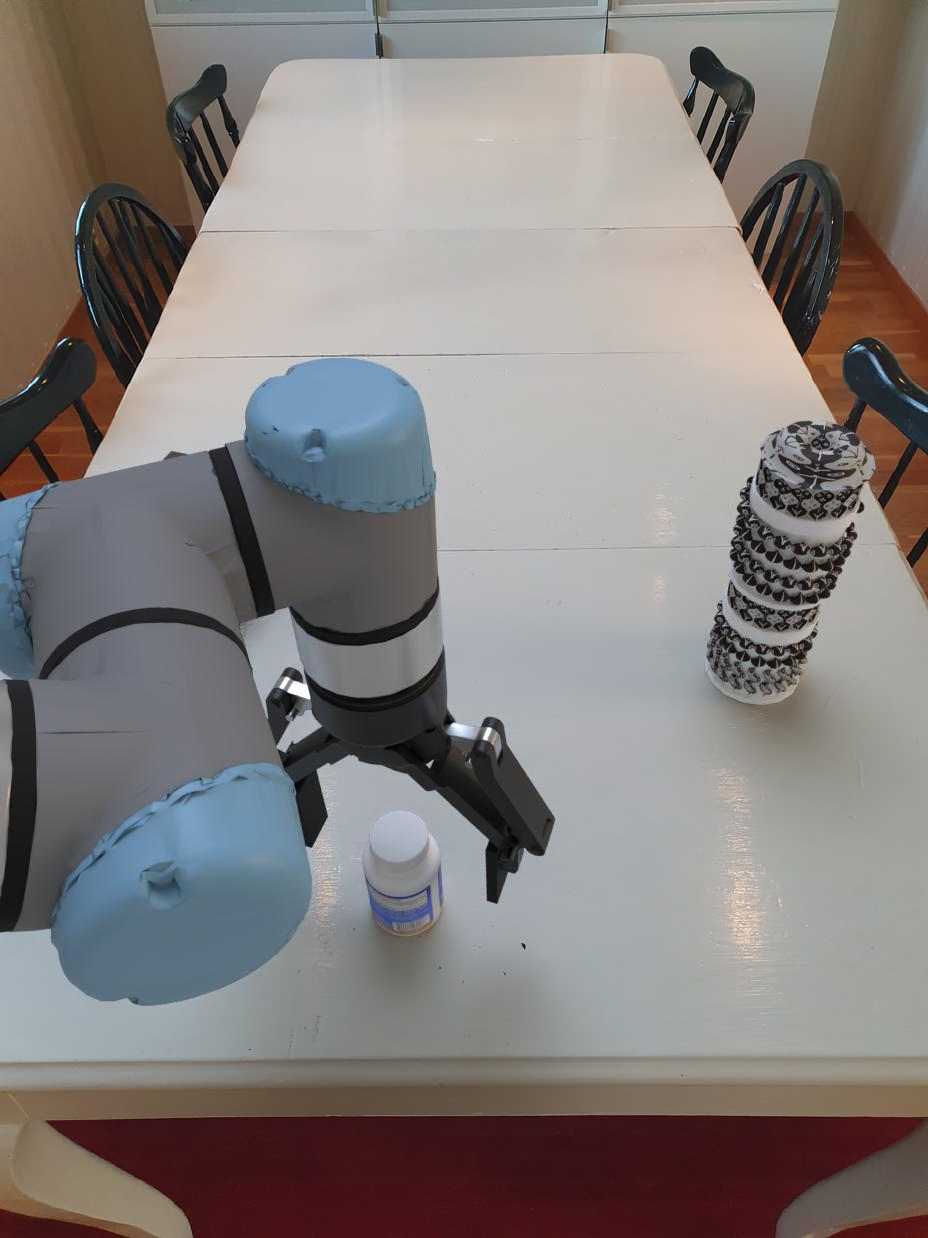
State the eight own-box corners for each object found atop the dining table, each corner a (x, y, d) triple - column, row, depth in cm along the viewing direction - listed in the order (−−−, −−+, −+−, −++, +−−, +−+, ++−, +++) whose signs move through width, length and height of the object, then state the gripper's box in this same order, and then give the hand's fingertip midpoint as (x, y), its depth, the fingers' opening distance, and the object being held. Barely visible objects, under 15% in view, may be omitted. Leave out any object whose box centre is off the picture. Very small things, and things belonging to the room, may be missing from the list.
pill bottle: (395, 860, 70) (385, 788, 63) (456, 890, 68) (453, 819, 61) (356, 918, 67) (341, 849, 60) (420, 952, 65) (411, 884, 58)
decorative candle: (710, 622, 87) (766, 394, 69) (809, 648, 85) (894, 417, 67) (689, 690, 81) (744, 459, 64) (795, 720, 79) (883, 488, 61)
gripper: (622, 651, 47) (593, 860, 62) (202, 557, 53) (268, 768, 68) (589, 765, 42) (566, 962, 57) (129, 647, 48) (218, 853, 63)
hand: (404, 857), depth 63 cm, fingers open, 13 cm apart
